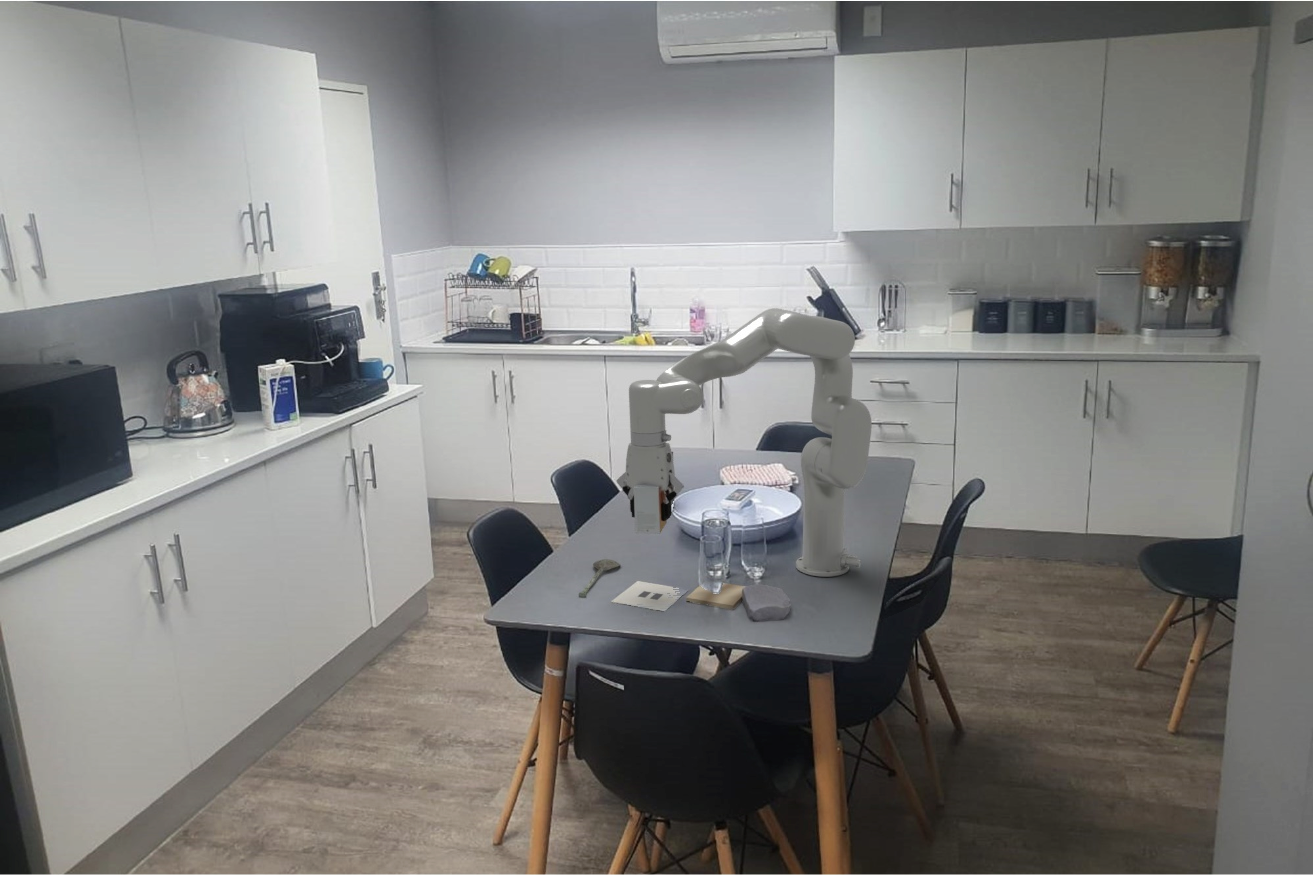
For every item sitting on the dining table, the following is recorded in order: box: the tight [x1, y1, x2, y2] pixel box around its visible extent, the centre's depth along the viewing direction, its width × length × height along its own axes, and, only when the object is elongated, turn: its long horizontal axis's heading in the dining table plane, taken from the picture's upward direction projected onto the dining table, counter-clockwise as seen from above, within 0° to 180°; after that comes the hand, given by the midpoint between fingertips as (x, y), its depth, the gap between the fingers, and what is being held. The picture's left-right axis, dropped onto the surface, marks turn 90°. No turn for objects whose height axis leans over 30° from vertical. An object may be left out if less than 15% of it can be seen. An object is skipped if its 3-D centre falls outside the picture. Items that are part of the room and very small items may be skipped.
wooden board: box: [685, 582, 746, 611], centre depth 219 cm, size 11×11×1 cm
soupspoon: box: [578, 558, 621, 598], centre depth 230 cm, size 22×3×7 cm
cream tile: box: [610, 580, 682, 612], centre depth 220 cm, size 13×13×1 cm
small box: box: [634, 485, 668, 535], centre depth 215 cm, size 8×6×10 cm
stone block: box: [741, 584, 792, 622], centre depth 212 cm, size 12×5×10 cm
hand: (651, 516), depth 215 cm, fingers closed on small box, 6 cm apart
